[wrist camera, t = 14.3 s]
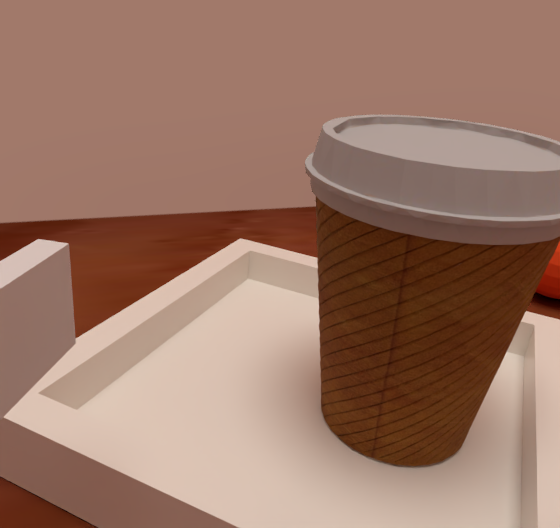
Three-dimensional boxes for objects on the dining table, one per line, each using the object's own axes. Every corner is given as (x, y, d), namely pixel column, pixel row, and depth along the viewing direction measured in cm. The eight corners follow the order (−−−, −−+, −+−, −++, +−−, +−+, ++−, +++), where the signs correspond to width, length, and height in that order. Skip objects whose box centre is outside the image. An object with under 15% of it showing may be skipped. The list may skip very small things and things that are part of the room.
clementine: (520, 316, 35) (552, 216, 32) (471, 273, 42) (494, 186, 39) (623, 318, 37) (662, 222, 34) (561, 275, 43) (589, 191, 40)
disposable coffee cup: (381, 330, 29) (420, 108, 24) (549, 431, 23) (652, 155, 17) (240, 393, 23) (252, 120, 18) (409, 552, 17) (501, 196, 12)
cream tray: (-18, 467, 20) (-29, 402, 18) (237, 278, 37) (240, 238, 35) (570, 774, 13) (613, 702, 12) (547, 366, 30) (563, 320, 29)
